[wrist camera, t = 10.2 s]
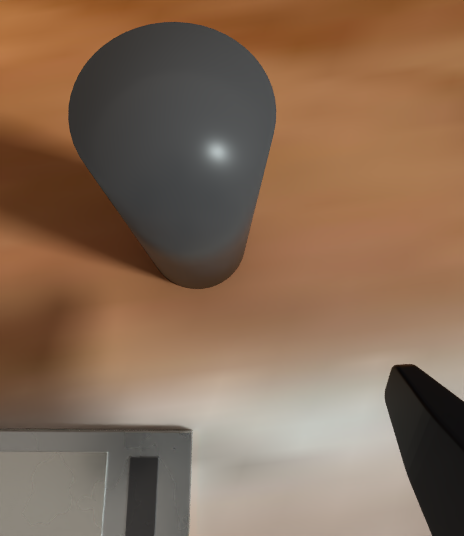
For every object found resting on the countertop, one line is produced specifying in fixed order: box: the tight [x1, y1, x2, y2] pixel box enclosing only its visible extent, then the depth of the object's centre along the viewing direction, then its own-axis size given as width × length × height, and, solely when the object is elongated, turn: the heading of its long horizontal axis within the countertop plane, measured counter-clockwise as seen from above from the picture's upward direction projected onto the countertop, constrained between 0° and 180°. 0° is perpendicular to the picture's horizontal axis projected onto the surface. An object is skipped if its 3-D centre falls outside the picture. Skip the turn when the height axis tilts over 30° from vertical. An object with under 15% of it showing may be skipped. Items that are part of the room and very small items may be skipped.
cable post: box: [68, 22, 276, 289], centre depth 14 cm, size 5×5×11 cm
